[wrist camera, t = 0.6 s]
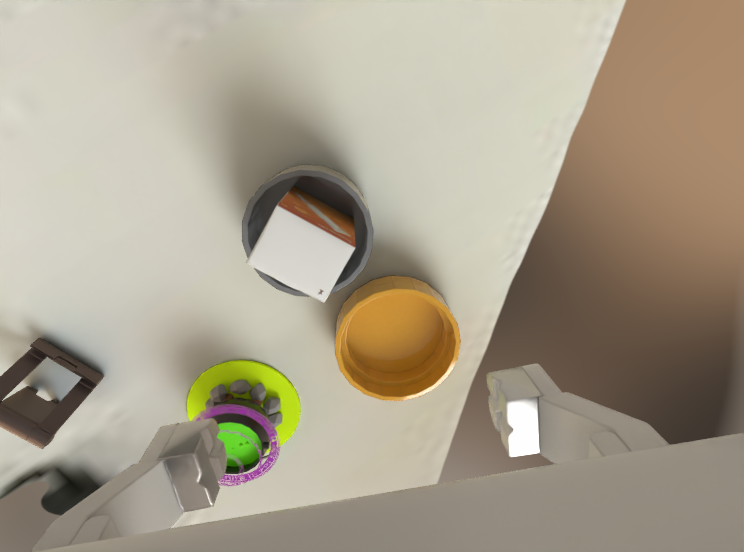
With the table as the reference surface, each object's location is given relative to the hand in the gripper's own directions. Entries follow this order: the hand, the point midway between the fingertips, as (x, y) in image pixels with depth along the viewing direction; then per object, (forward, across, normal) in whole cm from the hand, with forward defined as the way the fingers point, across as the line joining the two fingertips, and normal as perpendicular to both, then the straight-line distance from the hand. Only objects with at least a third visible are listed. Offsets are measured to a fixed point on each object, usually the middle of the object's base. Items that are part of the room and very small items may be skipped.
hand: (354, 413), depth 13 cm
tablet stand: (+41, +40, +17) cm, 60 cm away
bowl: (+41, -3, +18) cm, 45 cm away
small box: (+41, +5, +3) cm, 41 cm away
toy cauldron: (+41, +18, +26) cm, 52 cm away
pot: (+41, +5, +3) cm, 41 cm away
